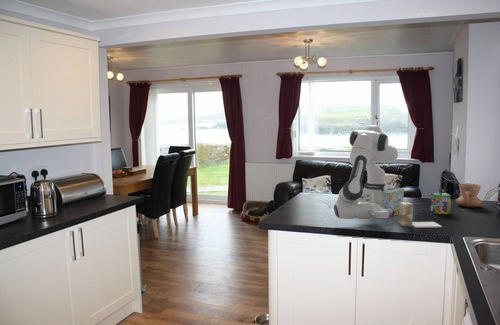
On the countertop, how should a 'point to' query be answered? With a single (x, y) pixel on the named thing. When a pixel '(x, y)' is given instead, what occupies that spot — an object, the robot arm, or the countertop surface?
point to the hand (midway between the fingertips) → (391, 210)
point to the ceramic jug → (469, 195)
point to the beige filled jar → (405, 214)
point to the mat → (425, 224)
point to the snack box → (392, 200)
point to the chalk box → (440, 203)
